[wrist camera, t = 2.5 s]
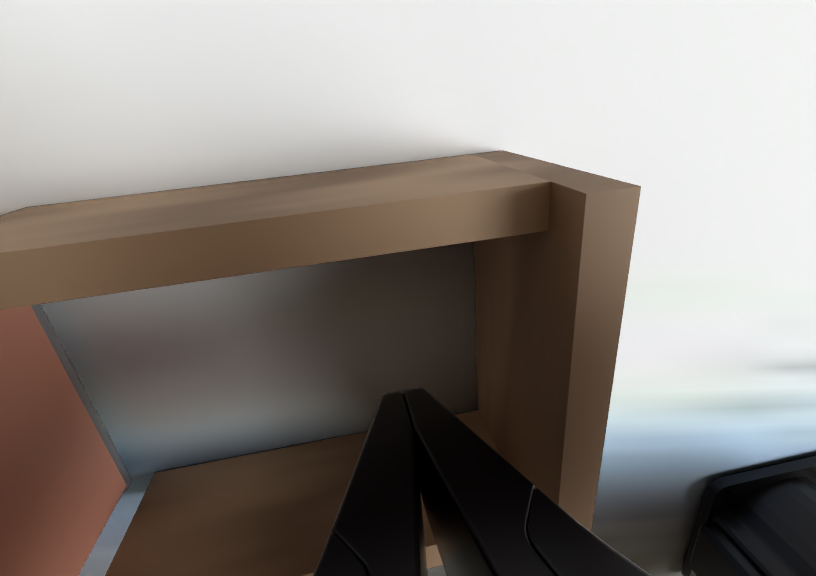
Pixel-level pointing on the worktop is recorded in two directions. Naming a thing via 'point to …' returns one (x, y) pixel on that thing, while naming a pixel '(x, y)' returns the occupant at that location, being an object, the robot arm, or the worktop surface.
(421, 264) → the worktop surface
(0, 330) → the salmon pink flat panel
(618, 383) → the worktop surface
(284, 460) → the brown wooden open frame
